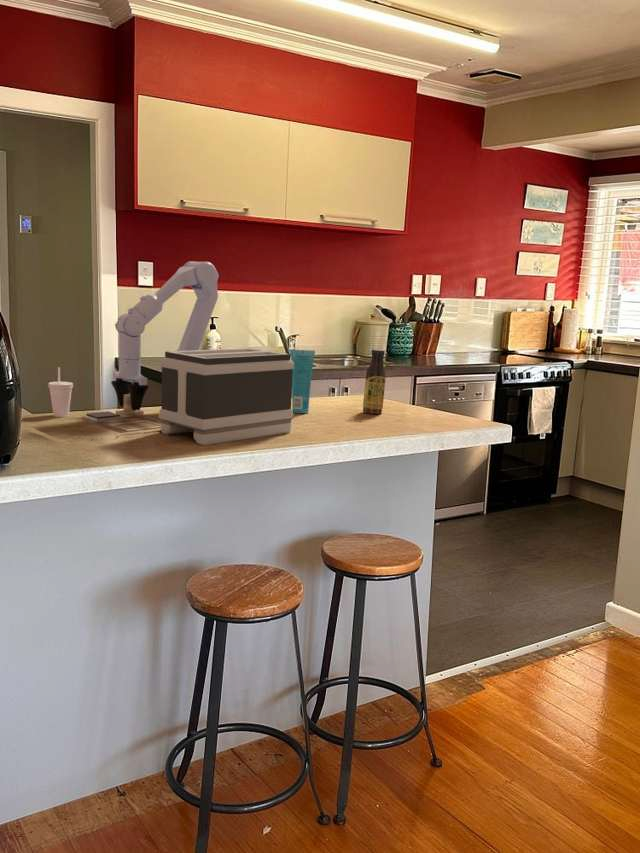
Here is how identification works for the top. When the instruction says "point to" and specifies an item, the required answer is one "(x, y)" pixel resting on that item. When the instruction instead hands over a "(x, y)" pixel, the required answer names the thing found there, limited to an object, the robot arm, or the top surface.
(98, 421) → the ink pad
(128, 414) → the stamp
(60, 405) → the smoothie
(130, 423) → the board
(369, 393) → the sauce bottle
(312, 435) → the top surface
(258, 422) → the toaster
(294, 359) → the tube
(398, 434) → the top surface
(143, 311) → the robot arm
